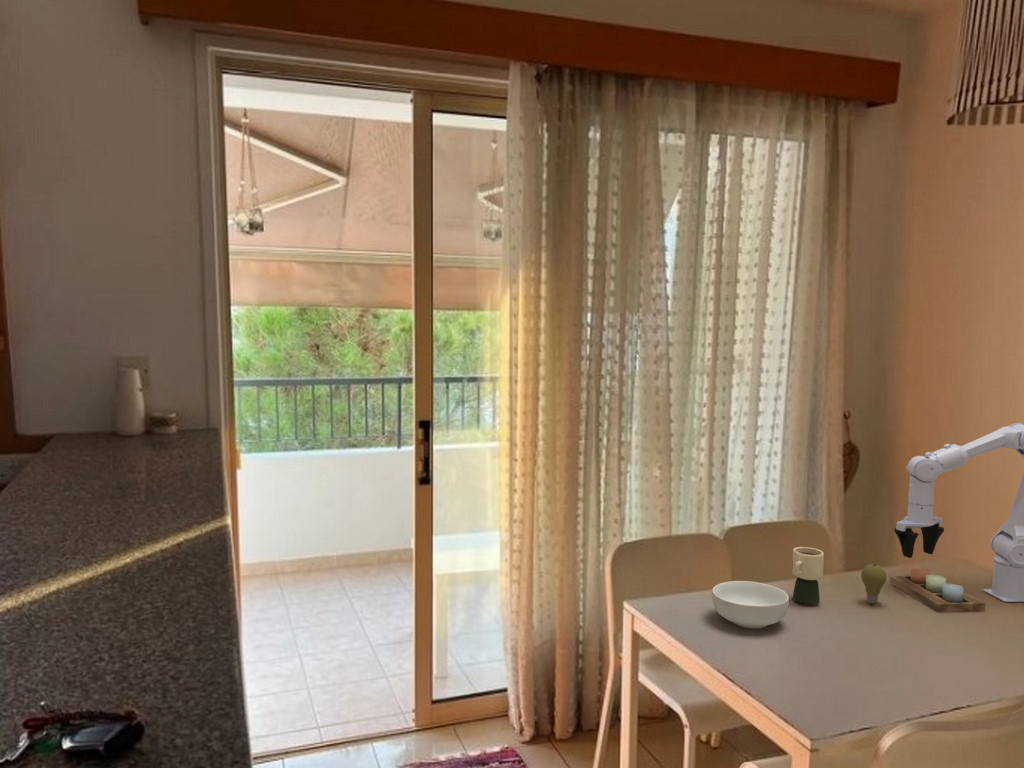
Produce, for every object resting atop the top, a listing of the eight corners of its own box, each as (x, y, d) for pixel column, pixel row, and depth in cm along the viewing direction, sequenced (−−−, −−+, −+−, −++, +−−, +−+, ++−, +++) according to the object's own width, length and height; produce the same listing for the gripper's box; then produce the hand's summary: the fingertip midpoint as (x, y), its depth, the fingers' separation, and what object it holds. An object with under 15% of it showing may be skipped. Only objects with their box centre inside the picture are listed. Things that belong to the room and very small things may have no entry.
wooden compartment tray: (932, 582, 204) (933, 575, 204) (984, 611, 184) (985, 603, 184) (889, 583, 203) (890, 575, 203) (937, 612, 183) (938, 604, 183)
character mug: (804, 593, 195) (806, 543, 194) (830, 601, 189) (833, 550, 188) (780, 602, 188) (783, 551, 187) (807, 611, 182) (810, 559, 181)
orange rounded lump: (922, 578, 202) (923, 566, 202) (932, 584, 198) (933, 571, 198) (906, 579, 202) (907, 566, 202) (916, 585, 197) (917, 571, 197)
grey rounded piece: (954, 596, 189) (955, 583, 189) (966, 603, 185) (967, 589, 185) (937, 597, 189) (938, 583, 189) (949, 603, 185) (950, 589, 184)
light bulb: (887, 609, 185) (889, 569, 184) (862, 607, 186) (865, 567, 185) (881, 600, 190) (883, 561, 189) (857, 598, 191) (859, 560, 190)
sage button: (938, 587, 196) (938, 574, 195) (949, 593, 191) (950, 580, 191) (921, 587, 195) (922, 574, 195) (932, 594, 191) (933, 580, 191)
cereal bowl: (758, 605, 187) (759, 576, 186) (803, 632, 171) (805, 601, 170) (697, 612, 181) (698, 583, 181) (738, 640, 166) (739, 609, 165)
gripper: (926, 497, 202) (923, 547, 203) (887, 502, 196) (884, 553, 198) (951, 503, 196) (948, 555, 197) (911, 508, 190) (908, 561, 191)
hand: (917, 555), depth 197 cm, fingers open, 7 cm apart
